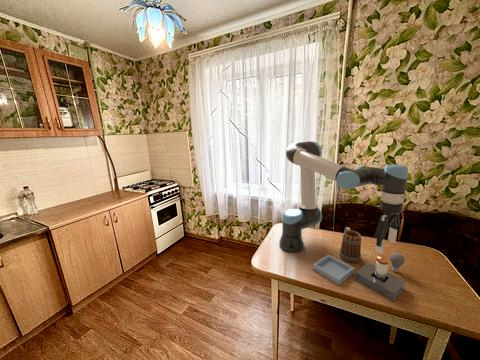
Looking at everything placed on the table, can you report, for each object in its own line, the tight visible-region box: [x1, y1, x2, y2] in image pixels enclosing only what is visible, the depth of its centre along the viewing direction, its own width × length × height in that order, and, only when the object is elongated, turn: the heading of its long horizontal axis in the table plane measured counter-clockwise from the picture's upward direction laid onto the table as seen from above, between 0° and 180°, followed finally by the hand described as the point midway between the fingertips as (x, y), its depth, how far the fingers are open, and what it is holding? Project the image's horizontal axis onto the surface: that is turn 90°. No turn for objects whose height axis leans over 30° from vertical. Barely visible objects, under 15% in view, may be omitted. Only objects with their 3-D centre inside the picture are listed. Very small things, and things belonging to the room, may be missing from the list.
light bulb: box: [389, 252, 406, 273], centre depth 99 cm, size 6×6×10 cm
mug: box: [339, 226, 362, 264], centre depth 113 cm, size 16×11×15 cm
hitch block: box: [354, 262, 407, 302], centre depth 92 cm, size 16×12×4 cm
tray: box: [312, 254, 355, 286], centre depth 101 cm, size 14×14×3 cm
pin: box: [374, 254, 390, 283], centre depth 91 cm, size 4×4×14 cm
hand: (385, 246), depth 88 cm, fingers open, 13 cm apart
